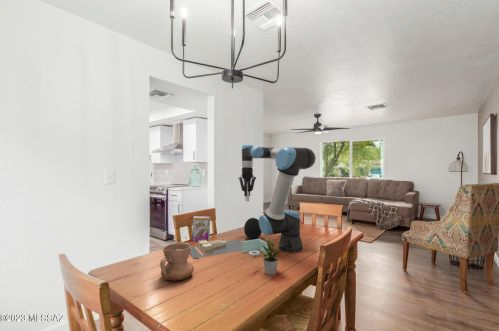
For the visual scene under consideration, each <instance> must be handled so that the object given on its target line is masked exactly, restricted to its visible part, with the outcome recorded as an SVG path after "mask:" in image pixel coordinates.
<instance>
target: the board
mask: <svg viewBox="0 0 499 331" xmlns="http://www.w3.org/2000/svg"><path fill="white" fill-rule="evenodd" d="M225 241H226V248H225V249H218V250H213V253H211V254H204V253H203V252H202V251H201V250H200V249H199V248H198V244H196V245H191V249H192V250H191V251H190V254H189V256H191V258H192V259H193V260H199V259H200V258H205V257H212V256H218V255H224V254H230V253H236V252H242V241H241V240H239V239H233V240H225Z"/></svg>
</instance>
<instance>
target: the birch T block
mask: <svg viewBox="0 0 499 331" xmlns="http://www.w3.org/2000/svg"><path fill="white" fill-rule="evenodd" d="M226 241H227V240H225V239H218V240H210V241H209V242H208V241H207V240H199V241H198V242H197V245H198V248H199V249H200V250H201V251H202V252H203V253H204V254H211V253H213V250H218V249H225V248H226Z"/></svg>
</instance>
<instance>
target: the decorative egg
mask: <svg viewBox="0 0 499 331" xmlns="http://www.w3.org/2000/svg"><path fill="white" fill-rule="evenodd" d="M243 229H244V230H243V231H244V235H245V236H246V237H247V239H248V240H256V239H260V237H261V236H262V234H263V233H262V231H261V229H260V226H259V218H256V217H249V218H248V219H247V220H246V221H245V224H244V227H243Z"/></svg>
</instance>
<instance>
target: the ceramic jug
mask: <svg viewBox="0 0 499 331" xmlns="http://www.w3.org/2000/svg"><path fill="white" fill-rule="evenodd" d="M191 246H192V245H191V244H190V243H189V242H188V243H187V242H183V241H182V242H180V241H179V242H175V243H169V244H167V245H165V246H164V247H162V252H163V255H164V257H163V258H162V259H161V260H160V263H159V266H160V267H159V268H160V270H161V271H160V276H161V277H162V278H163V279H165V280H167V281H170V282H171V281H172V282H177V281H182V280H185V279H188V278H189V277H191V275H192V274H193V273H194V269H195V268H194V267H195V266H194V265H193V264H192V263H191V261H188V259H189V257H190V251H191V250H192V249H191ZM166 262H167V263H166Z"/></svg>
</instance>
